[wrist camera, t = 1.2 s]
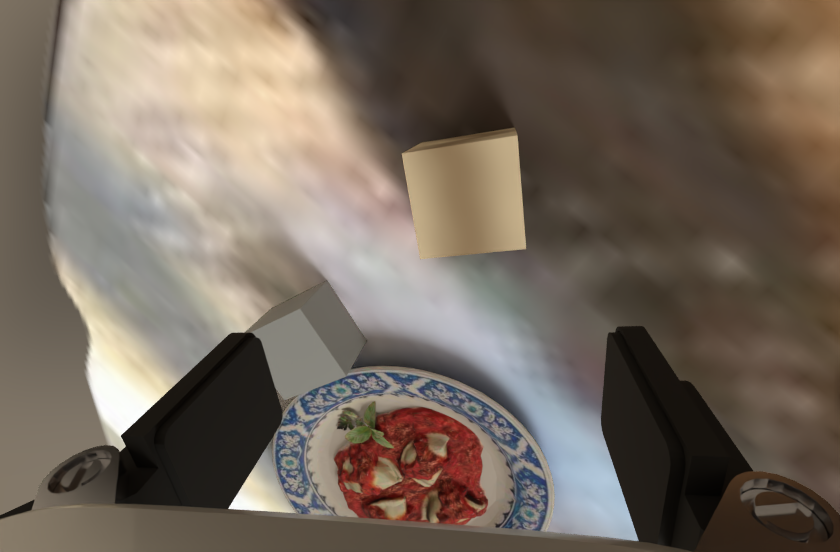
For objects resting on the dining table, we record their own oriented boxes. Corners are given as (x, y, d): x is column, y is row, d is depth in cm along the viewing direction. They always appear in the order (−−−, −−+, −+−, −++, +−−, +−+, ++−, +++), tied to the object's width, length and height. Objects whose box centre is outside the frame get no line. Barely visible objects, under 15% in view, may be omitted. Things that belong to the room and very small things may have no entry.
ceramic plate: (578, 554, 40) (584, 587, 37) (343, 563, 47) (333, 592, 45) (510, 324, 32) (510, 345, 29) (238, 379, 39) (219, 400, 36)
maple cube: (514, 127, 26) (517, 135, 21) (521, 219, 28) (526, 248, 23) (421, 142, 28) (401, 153, 22) (435, 229, 30) (420, 259, 24)
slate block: (327, 279, 33) (299, 308, 28) (367, 339, 35) (346, 376, 30) (272, 307, 35) (238, 338, 31) (311, 363, 37) (284, 400, 32)
